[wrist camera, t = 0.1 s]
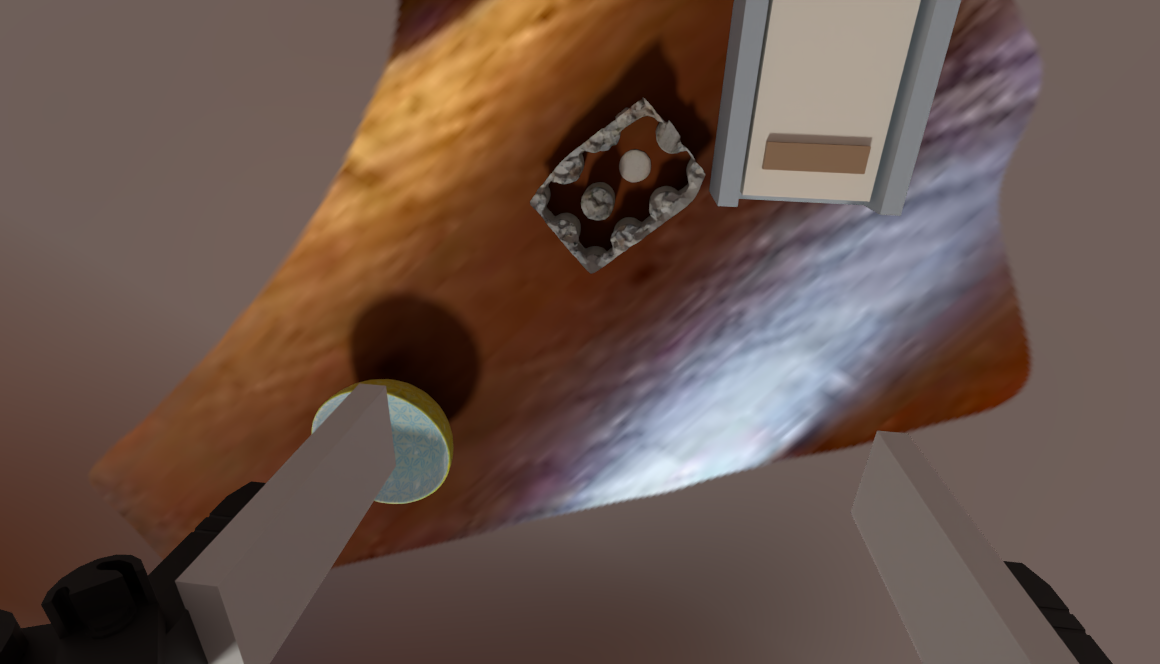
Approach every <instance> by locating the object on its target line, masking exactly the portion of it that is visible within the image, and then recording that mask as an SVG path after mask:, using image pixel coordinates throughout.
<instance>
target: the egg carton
mask: <svg viewBox="0 0 1160 664" xmlns="http://www.w3.org/2000/svg"><path fill="white" fill-rule="evenodd" d="M644 116H651V117H654V118H655V119H656V120H657V121H659V124H658V126H657V129H656V139H657V142H658V145H659V146H660V148H661V149H662V150H664V151H665V152H667V153H679V152H681V151H687V152H688V153H689V154H690V156H691V159H690V161H689V163H688V165H687V168H686V174H687V178H688V182H689V183H688V184H687V185H686V186H685V187H684V188H682V189H681V190H679V191H678V190H676V189H675V188H673V187H670V186H662V187H659V188H657V189H656V190H655V191H654V192H653V193H652V195H651V196H650V200H649V213H650V216H649V217H648V218H646V219H645V220H644V221H643V222H641V221H639V220H638V219H636V218H632V217H626V218H623V219H621V220H620V221H619V222H618V223H617V224H616V225H615V227H614V232H613V233H612V236H611V243H612V246H613V247H612V248H611V249H609V250H608V251H606V250H605V249H604V248H602V247H599V246H592V247H588V248H584V247H583V246H582V245H581V244H580V242H579V235H580V232H581V224H580V221H579V219H578V218H577V217H576V216H575V215H573V214H570V213H561V214H559V215H557V216H555V215H553V214H552V212H551V211H550V210H549V209H548V208H547V204H548V202H549V200H550V196H551V192H550V189H549V186H548V185H549V183H550V182H551V181H552V182H557V183H560V184H568V183H572V182H574V181H577V180H578V178H579V177H580V174H581V173H582V170H583V168H584V158H583V155H582V153H583V152H584V151H588V152H592V153H596V152H598V151H606V150H609V149H610V148H611V146H612V145H616V144H617V143H618V141H619V138H620V132H621V131H622V130H623V129H624V128H625V127H627V126H628V125H630V124H631V123H633V122H634V121H635V120H637V119H639V118H641V117H644ZM615 118H616V120H614V121H613V122H611V123H610V124H609V125H608V126H606V127H605V128H604V129H603V128H602V129H601V130H599V131H598V132H597V133H596V134H595V135H593V136H592V137H591V138H590V139H589V140H587V141H586V142H585V143H583V144H582V145H581V146H579V147H578V148H577V149H575V150H574V151H573V152H571V153H570V154H569V155H568V156H567V157H566V158H565V159H563V160H562V161H561V162H560V164H559V165H558V166H557V167H556V168H555V170H554V171H553V172H552V173H551V174H550V176H549V177H548V178H547V180H546V181H545V182H544V184H543V185H542V186H541V187H540V188H539V189H538V190H537V192H536V194H535V196H534V197H533V198H532V200H531V201H530V204H531V206H532V207H533V208H534V209H535V210H537V211H538V213H539V214H540V215H541V216H542V218H543V219H544V220H545V222H546V224H547V225H548V226H549V227H550V228H551V229H552V230H553V231H554V232H555V234H556V235H557V236H558V238H559V239H560V240H561V241H562V242H563V243H564V245H565V246H566V247H567V248H568V250H569V251H570V252H571V253H572V254H573V255H574V256H575V257H576V258H577V259H578V260H579V262H580V263H581V264H582V265H583V267H584V268H586V269H587V270H588V271H589V272H590V273H594V272H596V271H597V270H599V269H600V268H602V267H603V266H605V265H606V264H608V263H609V262H611V261H612V260H613V259H614V258H615V257H617V256H618V255H619V254H621V253H622V252H625V251H626V250H627V249H628V248H629V247H631V246H632V245H634V244H636V243H638V242H639V241H641V240H642V239H643V238H644V237H646V236H647V235H648V234H649V233H651V232H652V231H653V230H655V229H656V228H658V227H659V226H660V225H662V224H663V223H664V222H665V221H667V220H668V219H670V218H671V217H673V216H674V215H675V214H677V213H678V212H680V211H681V210H682V209H684V208H685V207H686V206H687V205H688V204H689V203H691V202H692V201H693V200H694V198H695V196H696V195H697V193H698V191H699V188H700V186H701V184H702V181H703V179H704V177H705V173H704V171H703V169H702V168H701V167H700V166H699V165H698V164H697V163H696V162H695V159H694V157H693V155H692V154H691V153H690V151H689V150H688V149H687V148H686V147H684V146H683V144H682V143H681V141H680V137H681V136H680V135H679V133H678V132H677V131H676V129H675V127H674V126H673V125H672V123H671V122H670V121H668V122H665V121H664V120H663V119H662V118H661V117H660V116H659V115H658V113H657V112H656V111H655V110H654V108H653V107H652V106H651V105H650V104H649V102H648V101H647V100H646V99H645V98H642V100H640V101H638V102H637V103H635V104H634V105H633V106H631V107H630V108H625V109H624V110H622V111H621V112H620V113H619V114H618V115H617V116H616V117H615ZM650 168H651V161H650V158H649V157H648V155H647V154H646V153H645V152H643V151H640V150H637V149H636V150H630V151H628V152H626V153H625V154H624V155H623V156H622V158H621V159H620V163H619V171H620V174H621V175H622V177H623V178H624V179H626V180H627V181H630V182H639V181H641V180H643V179H645V178H646V177H647V176H648V174H649V172H650ZM614 203H615V193H614V191H613V189H612V188H611V187H610V186H609V185H608V184H606V183H603V182H597V183H593V184H591V185H590V186H589V187H588V188H587V189H586V191H585V193H584V194H583V196H582V199H581V208H582V210H583V212H584V214H585V215H586V216H587V218H589V219H593V220H596V221H599V220H604V219H606V218H607V217H609V216H610V214H611V212H612V210H613V207H614Z"/></svg>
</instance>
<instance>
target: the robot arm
mask: <svg viewBox="0 0 1160 664" xmlns="http://www.w3.org/2000/svg"><path fill="white" fill-rule="evenodd" d="M395 467H396V460H395V453H394V445H393V437H392V429H391V421H390V413H389V405H388V397H387V390H386V386H382V385H372V384H361V383H359V384H358V385H357V387H356V388H355V389H354V390H353V391H352V392H351V393H350V394H349V395H348V396H347V397H346V398H345V399H344V400H343V402H342V403H341V404H340V405H339V406H338V407H337V408H336V409H335V410H334V411H333V412H332V413H331V414H330V415H329V417H328V418H327V419H326V420H325V421H324V422H323V423H322V424H321V425H320V426H319V427H318V428H317V429H316V430H315V432H314V433H313V434H312V435H311V436H310V437H309V438H308V439H307V440H306V441H305V442H304V443H303V444H302V445H301V447H300V448H299V449H298V450H297V451H296V452H295V453H294V454H293V455H292V456H291V457H290V458H289V459H288V461H287V462H286V463H285V464H284V465H283V466H282V467H281V468H280V469H279V470H278V471H277V472H276V473H275V474H274V476H273V477H272V478H271V479H270V480H269V481H268V482H267V483H260V482H250V483H248V484H246V485H245V486H243V487H241V488H240V489H238V490H237V491H235V492H233V493H232V494H230V495H228V496H227V497H226V498H225V499H224V500H223V501H222V502H221V503H220V504H219V505H218V506H217V507H216V508H215V509H214V510H213V511H212V512H211V513H210V516H209V517H206V518H205V519H204V520H203V521H202V522H201V523H200V524H199V525H198V526H197V527H196V528H195V531H194V532H191V533H190V534H189V535H188V536H187V537H186V538H185V539H184V540H183V541H182V542H181V543H180V544H179V545H178V546H177V547H176V548H175V549H174V550H173V551H172V552H171V553H170V554H169V555H168V556H167V557H166V558H165V559H164V560H163V561H162V562H161V563H160V564H159V565H158V566H157V567H156V568H155V569H154V570H153V571H152V572H151V573H150V574H149V575H147V573H146V570H145V568H144V566H143V563H142V561H141V559H138V558H136V557H134V556H132V555H113V556H108V557H104V558H100V559H97V560H94V561H93V562H90V563H87V564H85V565H83V566H80V567H78V568H77V569H76V570H74V571H72V572H71V573H69V574H68V575H66V576H65V577H63V578H61V579H60V580H59V581H58V582H57V583H56V584H55V585H54V586H53V587H52V588H51V589H50V590H49V591H48V592H47V594H46V596H45V598H44V600H43V602H42V604H41V605H42V607H43V609H44V611H45V613H46V614H47V616H48V618H49V620H50V622H51V624H46V625H40V626H34V627H27V628H20V626H19V624H18V622H17V621H16V619H15V617H14V616H13V614H12V613H10V612H7V611H4V610H0V664H270V662H271V660H272V659H273V658H274V656H275V654H276V653H277V651H278V650H279V648H280V647H281V645H282V643H283V642H284V640H285V639H286V637H287V635H288V634H289V633H290V631H291V629H292V628H293V626H294V625H295V623H296V622H297V620H298V618H299V617H300V615H301V614H302V612H303V611H304V609H305V607H306V606H307V604H308V603H309V601H310V600H311V598H312V596H313V595H314V593H315V592H316V590H317V589H318V587H319V586H320V584H321V582H322V581H323V579H324V578H325V576H326V575H327V573H328V572H329V570H330V568H331V567H332V565H333V564H334V562H335V561H336V559H337V557H338V556H339V554H340V553H341V551H342V550H343V548H344V546H345V545H346V543H347V542H348V540H349V539H350V537H351V536H352V534H353V532H354V531H355V529H356V528H357V526H358V525H359V523H360V521H361V520H362V518H363V517H364V515H365V514H366V512H367V510H368V509H369V507H370V506H371V504H372V503H373V501H374V500H375V498H376V496H377V495H378V493H379V492H380V490H381V489H382V487H383V485H384V484H385V482H386V481H387V479H388V478H389V476H390V475H391V473H392V471H393V470H394V468H395ZM851 515H852V517H853V519H854V521H855V523H856V525H857V527H858V529H859V531H860V533H861V536H862V538H863V540H864V542H865V544H866V546H867V548H868V550H869V552H870V554H871V557H872V559H873V561H874V563H875V565H876V567H877V569H878V571H879V573H880V575H881V577H882V580H883V582H884V584H885V586H886V588H887V590H888V592H889V594H890V596H891V598H892V600H893V603H894V604H895V607H896V609H897V611H898V613H899V615H900V617H901V619H902V622H903V623H904V626H905V628H906V630H907V632H908V634H909V636H910V638H911V640H912V642H913V644H914V647H915V649H916V651H917V653H918V655H919V657H920V659H921V661H922V663H923V664H1112V662H1111V661H1110V660H1109V659H1108V658H1107V656H1106V655H1105V654H1104V652H1103V651H1102V650H1101V649H1100V648H1099V646H1098V645H1097V644H1096V642H1095V641H1094V640H1093V639H1092V637H1091V636H1090V635H1086V633H1085V629H1084V627H1083V626H1082V625H1081V624H1080V622H1079V621H1078V620H1077V619H1076V617H1075V616H1074V615H1073V614H1070V613H1069V609H1068V607H1067V606H1066V605H1065V604H1064V603H1063V601H1062V600H1061V599H1060V598H1059V596H1058V595H1057V594H1056V592H1055V591H1054V590H1053V589H1052V588H1051V586H1050V585H1049V584H1047V583H1046V582H1045V581H1044V580H1043V579H1041V578H1040V577H1039V576H1037V575H1036V574H1035V573H1034V572H1032V571H1031V570H1030V569H1029V568H1028V567H1026V566H1025V565H1024V564H1022V563H1016V562H1007V561H1003V560H1002V559H1001V558H1000V557H999V555H998V554H997V552H996V551H995V550H994V548H993V547H992V546H991V544H990V543H989V542H988V540H987V539H986V538H985V536H984V535H983V534H982V532H981V531H980V530H979V528H978V527H977V526H976V524H975V523H974V521H973V520H972V519H971V517H970V516H969V515H968V514H967V512H966V511H965V509H964V508H963V507H962V506H961V504H960V503H959V502H958V500H957V499H956V497H955V496H954V495H953V494H952V492H951V491H950V489H949V488H948V487H947V485H946V484H945V483H944V481H943V480H942V479H941V477H940V476H939V475H938V473H937V472H936V470H935V469H934V468H933V467H932V465H931V464H930V463H929V461H928V460H927V458H926V457H925V456H924V454H923V453H922V452H921V450H920V449H919V448H918V446H917V445H916V444H915V442H914V441H913V440H912V438H911V437H910V436H909V434H907V433H896V432H885V431H877V433H876V436H875V439H874V442H873V445H872V448H871V451H870V454H869V458H868V461H867V464H866V467H865V470H864V473H863V476H862V479H861V482H860V485H859V488H858V491H857V494H856V497H855V500H854V503H853V507H852V510H851Z"/></svg>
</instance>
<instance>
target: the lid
mask: <svg viewBox="0 0 1160 664" xmlns="http://www.w3.org/2000/svg"><path fill="white" fill-rule="evenodd" d="M920 1H921V0H769V3H768V10H767V17H766V23H765V30H764V36H763V43H762V49H761V56H760V62H759V69H758V75H757V82H756V88H755V95H754V101H753V108H752V114H751V121H750V128H749V134H748V141H747V147H746V154H745V160H744V167H743V173H742V180H741V186H740V192H741V194H742V195H752V196H771V197H790V198H810V199H829V200H848V201H867V202H870V198H871V194H872V190H873V186H874V182H875V178H876V175H877V171H878V167H879V163H880V159H881V155H882V151H883V147H884V143H885V139H886V135H887V131H888V127H889V123H890V119H891V116H892V112H893V108H894V104H895V100H896V96H897V92H898V88H899V84H900V80H901V76H902V72H903V68H904V64H905V60H906V56H907V53H908V49H909V45H910V41H911V37H912V33H913V29H914V25H915V21H916V17H917V13H918V9H919V5H920Z"/></svg>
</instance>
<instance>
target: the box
mask: <svg viewBox="0 0 1160 664" xmlns="http://www.w3.org/2000/svg"><path fill="white" fill-rule="evenodd" d="M960 2H961V0H921V1H920V5H919V9H918V13H917V17H916V21H915V25H914V29H913V33H912V37H911V41H910V45H909V49H908V53H907V56H906V60H905V64H904V68H903V72H902V76H901V80H900V84H899V88H898V92H897V96H896V100H895V104H894V108H893V112H892V116H891V119H890V123H889V127H888V131H887V135H886V139H885V143H884V147H883V151H882V155H881V159H880V163H879V167H878V171H877V175H876V178H875V182H874V186H873V190H872V194H871V198H870V202H867V201H848V200H829V199H810V198H790V197H771V196H752V195H742V194H741V192H740V186H741V180H742V173H743V167H744V160H745V154H746V147H747V141H748V134H749V128H750V121H751V114H752V108H753V101H754V95H755V88H756V82H757V75H758V69H759V62H760V56H761V49H762V43H763V36H764V30H765V23H766V17H767V10H768V3H769V0H734V5H733V12H732V20H731V28H730V35H729V43H728V51H727V58H726V66H725V74H724V81H723V89H722V97H721V105H720V112H719V120H718V128H717V135H716V143H715V151H714V158H713V166H712V174H711V182H710V189H709V192H710V193H711V195H712V197H713V198H714V200H715V202H716V204H717V205H718V206H729V207H737V206H738V199H757V200H776V201H795V202H815V203H834V204H853V205H864V206H866V207H868V208H870V209H871V210H873V211H875V212H876V213H878V214H880V215H897V216H901V212H902V209H903V205H904V201H905V198H906V194H907V191H908V187H909V184H910V180H911V177H912V173H913V169H914V166H915V162H916V159H917V155H918V152H919V148H920V144H921V141H922V137H923V134H924V130H925V127H926V123H927V120H928V116H929V112H930V109H931V105H932V102H933V98H934V95H935V91H936V87H937V84H938V80H939V77H940V73H941V70H942V66H943V63H944V59H945V55H946V52H947V48H948V45H949V41H950V38H951V34H952V31H953V27H954V23H955V20H956V16H957V13H958V9H959V6H960Z"/></svg>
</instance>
